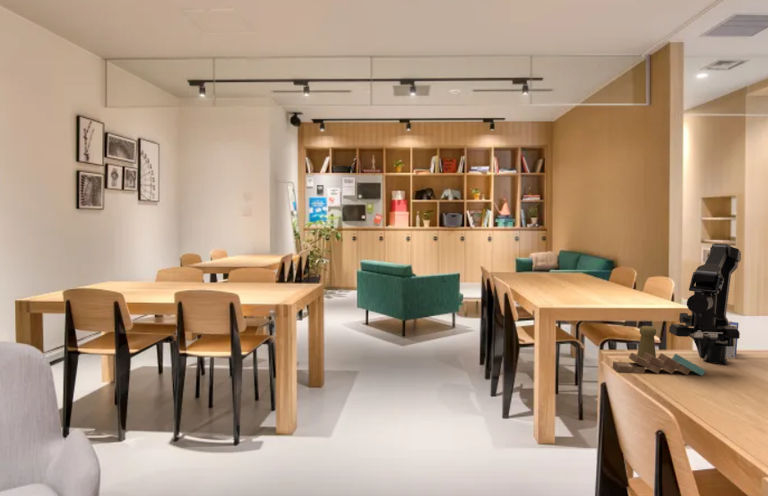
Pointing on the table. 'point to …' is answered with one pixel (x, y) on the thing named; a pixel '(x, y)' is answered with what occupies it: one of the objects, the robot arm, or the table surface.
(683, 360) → the domino
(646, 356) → the domino
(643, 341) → the cork
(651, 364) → the domino
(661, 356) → the domino
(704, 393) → the table surface
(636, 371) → the domino
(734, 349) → the walkman
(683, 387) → the table surface
